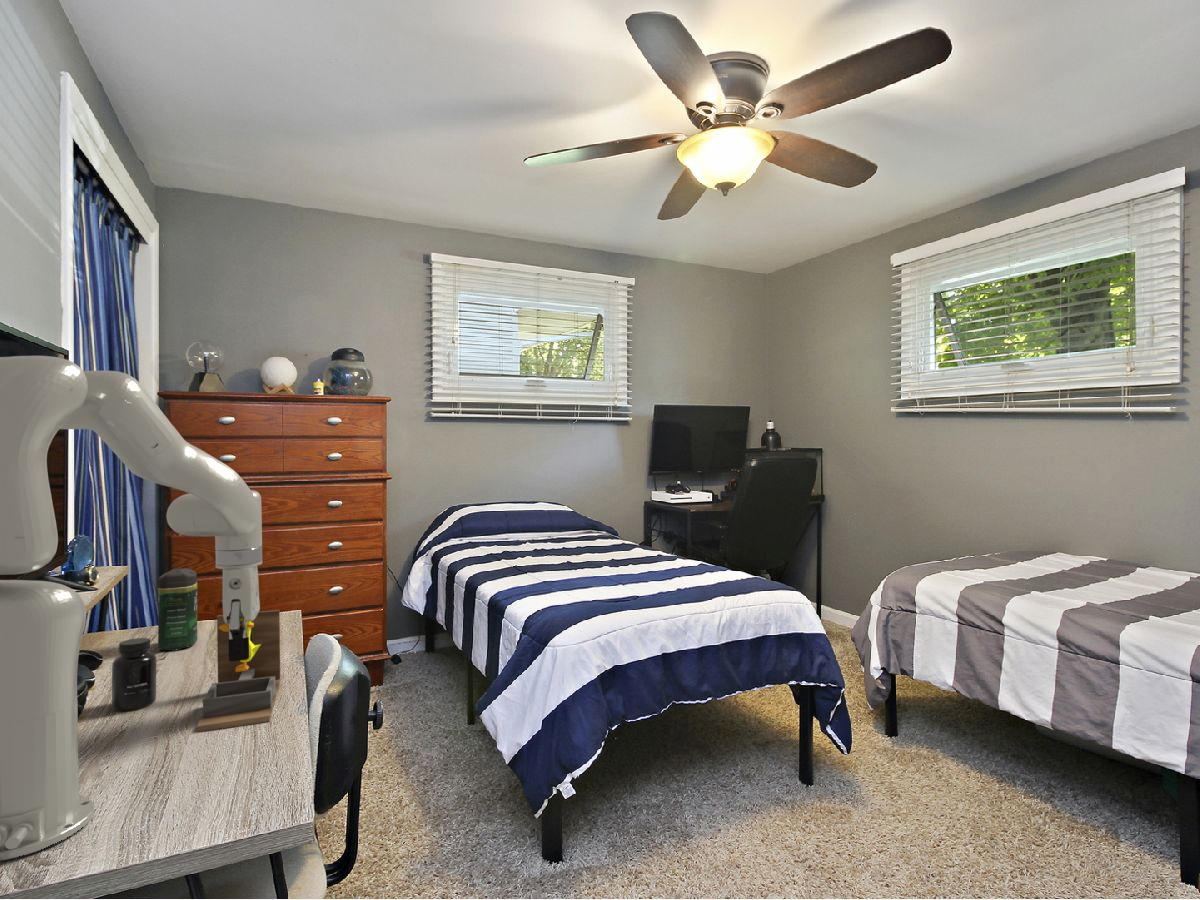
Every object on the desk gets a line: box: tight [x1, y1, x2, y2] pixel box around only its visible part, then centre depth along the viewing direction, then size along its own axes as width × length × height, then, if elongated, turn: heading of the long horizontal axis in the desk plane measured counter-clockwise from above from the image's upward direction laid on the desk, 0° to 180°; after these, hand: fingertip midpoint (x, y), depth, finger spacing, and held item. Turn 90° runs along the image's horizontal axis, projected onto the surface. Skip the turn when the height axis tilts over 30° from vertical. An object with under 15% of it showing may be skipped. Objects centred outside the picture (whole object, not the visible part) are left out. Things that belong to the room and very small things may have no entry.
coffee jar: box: [157, 567, 198, 651], centre depth 157 cm, size 10×8×19 cm
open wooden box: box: [196, 609, 281, 733], centre depth 121 cm, size 20×11×15 cm, turn 21°
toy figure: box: [219, 617, 261, 672], centre depth 119 cm, size 7×4×12 cm, turn 112°
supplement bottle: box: [111, 637, 157, 712], centre depth 121 cm, size 7×7×12 cm
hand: (240, 655), depth 119 cm, fingers closed on toy figure, 3 cm apart
